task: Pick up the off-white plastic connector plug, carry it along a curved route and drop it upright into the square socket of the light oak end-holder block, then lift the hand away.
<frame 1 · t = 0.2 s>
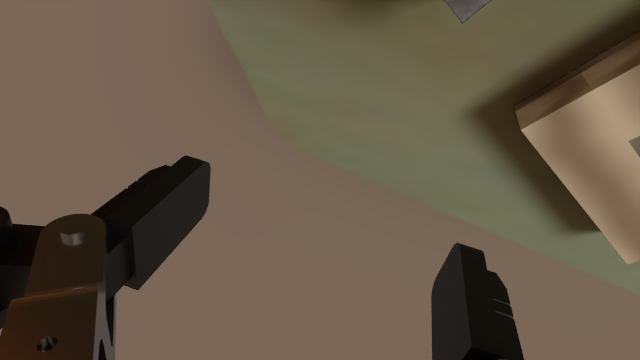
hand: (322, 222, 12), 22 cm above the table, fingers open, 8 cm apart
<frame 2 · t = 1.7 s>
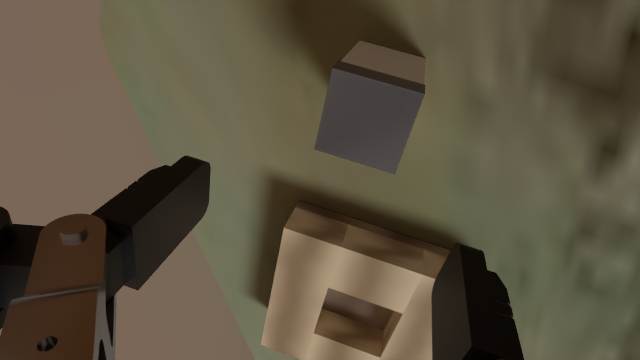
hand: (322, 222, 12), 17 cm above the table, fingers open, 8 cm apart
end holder: (362, 290, 36), on the table
connector plug: (382, 81, 26), on the table
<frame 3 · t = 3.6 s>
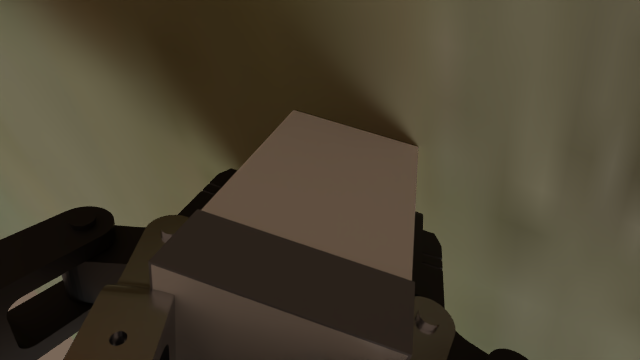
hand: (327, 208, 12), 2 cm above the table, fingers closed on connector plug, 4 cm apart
connector plug: (339, 181, 14), on the table, touching gripper
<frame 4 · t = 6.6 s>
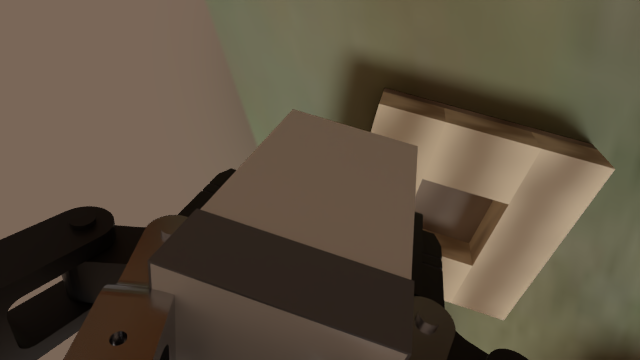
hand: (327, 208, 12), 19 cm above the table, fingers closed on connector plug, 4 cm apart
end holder: (446, 197, 33), on the table
connector plug: (339, 180, 14), point 18 cm above the table, touching gripper
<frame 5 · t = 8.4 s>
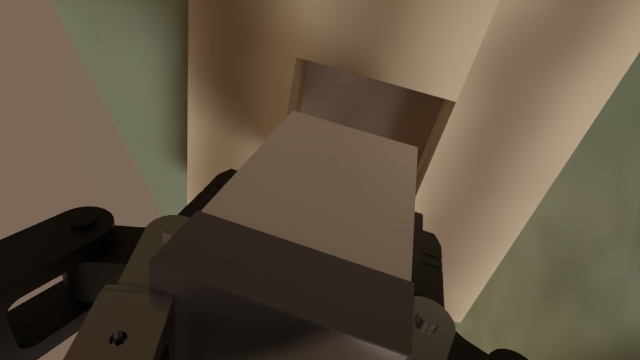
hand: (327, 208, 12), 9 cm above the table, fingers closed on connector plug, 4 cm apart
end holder: (366, 118, 20), on the table
connector plug: (339, 181, 14), point 7 cm above the table, touching gripper
when the fingers open (5 cm above the table, at t = 9.6 s): connector plug drops 2 cm, resting on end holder.
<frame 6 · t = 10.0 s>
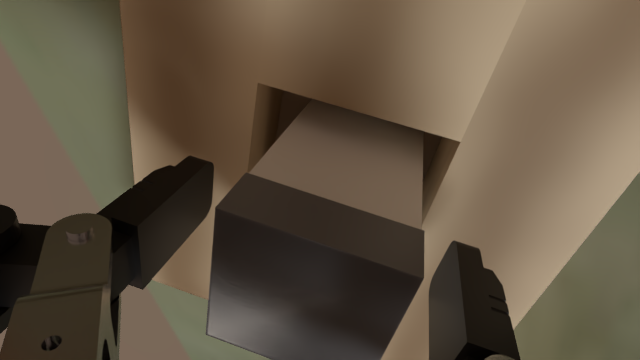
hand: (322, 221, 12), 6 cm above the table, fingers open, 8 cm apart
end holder: (352, 148, 16), on the table
connector plug: (352, 162, 16), point 1 cm above the table, touching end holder
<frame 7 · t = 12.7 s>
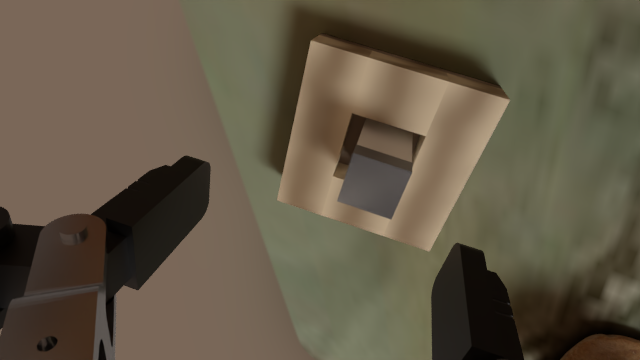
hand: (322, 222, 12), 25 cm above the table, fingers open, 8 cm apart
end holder: (380, 139, 36), on the table
connector plug: (381, 145, 35), point 1 cm above the table, touching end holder
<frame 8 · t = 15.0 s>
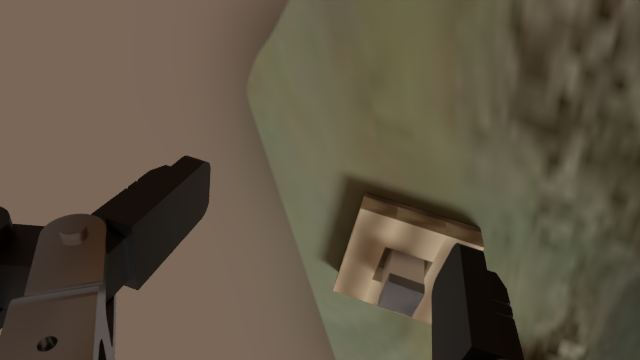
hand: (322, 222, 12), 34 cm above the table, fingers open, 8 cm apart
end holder: (402, 252, 54), on the table
connector plug: (403, 257, 54), point 1 cm above the table, touching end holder
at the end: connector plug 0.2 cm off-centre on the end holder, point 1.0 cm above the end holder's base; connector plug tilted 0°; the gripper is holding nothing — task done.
